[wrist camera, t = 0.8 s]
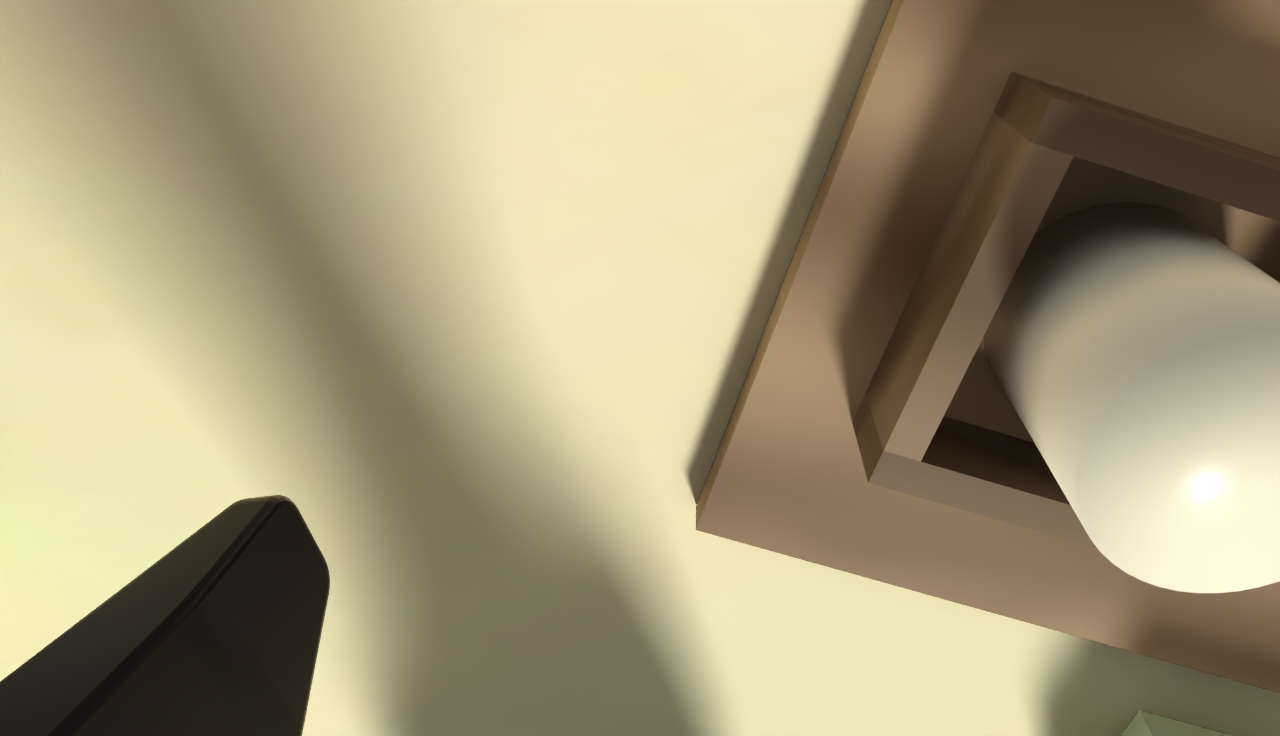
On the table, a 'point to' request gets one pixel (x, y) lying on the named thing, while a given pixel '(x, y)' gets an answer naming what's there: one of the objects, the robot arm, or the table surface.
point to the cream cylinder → (1151, 392)
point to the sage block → (1164, 727)
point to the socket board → (994, 305)
